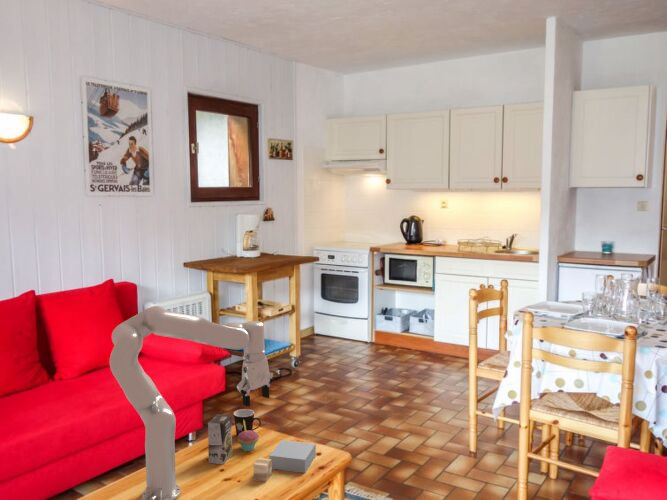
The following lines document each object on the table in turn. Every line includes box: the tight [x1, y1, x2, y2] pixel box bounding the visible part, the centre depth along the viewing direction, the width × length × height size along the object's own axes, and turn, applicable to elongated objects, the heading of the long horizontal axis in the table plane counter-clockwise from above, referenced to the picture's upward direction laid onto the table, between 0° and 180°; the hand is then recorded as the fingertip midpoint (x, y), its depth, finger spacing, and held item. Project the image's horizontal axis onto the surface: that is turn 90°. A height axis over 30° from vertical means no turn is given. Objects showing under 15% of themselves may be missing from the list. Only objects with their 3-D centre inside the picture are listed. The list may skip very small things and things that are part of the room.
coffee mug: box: [233, 408, 262, 437], centre depth 246 cm, size 12×9×10 cm
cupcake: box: [236, 419, 260, 452], centre depth 235 cm, size 9×8×12 cm
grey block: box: [268, 439, 317, 474], centre depth 224 cm, size 14×14×5 cm
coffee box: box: [207, 413, 233, 465], centre depth 226 cm, size 9×6×16 cm
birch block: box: [253, 457, 273, 482], centre depth 212 cm, size 5×5×6 cm
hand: (256, 401), depth 213 cm, fingers open, 9 cm apart
